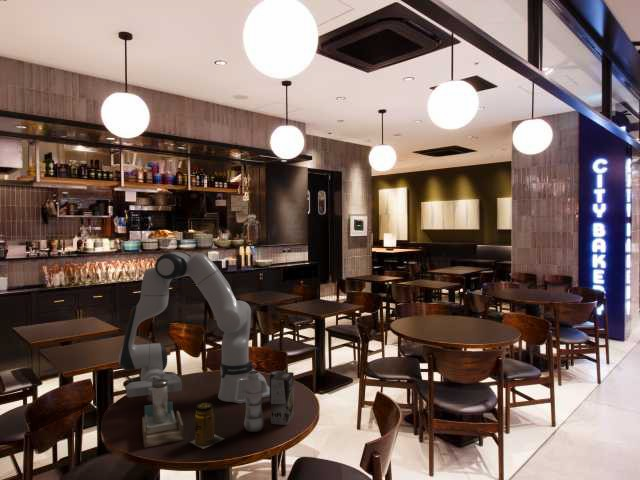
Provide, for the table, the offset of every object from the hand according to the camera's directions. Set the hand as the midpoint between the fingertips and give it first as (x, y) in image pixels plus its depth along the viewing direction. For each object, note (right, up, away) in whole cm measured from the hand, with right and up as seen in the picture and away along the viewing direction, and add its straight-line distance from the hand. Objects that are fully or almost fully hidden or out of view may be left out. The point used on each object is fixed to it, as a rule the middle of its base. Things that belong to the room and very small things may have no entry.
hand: (156, 394), depth 164 cm
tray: (+6, -8, -11) cm, 14 cm away
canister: (+5, -6, -10) cm, 13 cm away
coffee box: (+48, -8, -4) cm, 49 cm away
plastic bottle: (+39, -8, -13) cm, 42 cm away
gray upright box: (+45, -8, +12) cm, 47 cm away
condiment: (+25, -8, -21) cm, 33 cm away
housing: (+9, -8, -17) cm, 21 cm away
